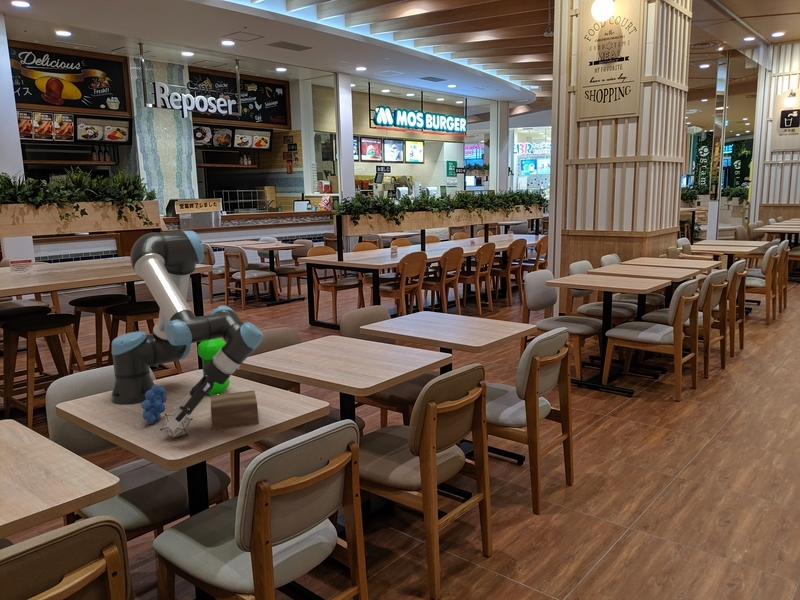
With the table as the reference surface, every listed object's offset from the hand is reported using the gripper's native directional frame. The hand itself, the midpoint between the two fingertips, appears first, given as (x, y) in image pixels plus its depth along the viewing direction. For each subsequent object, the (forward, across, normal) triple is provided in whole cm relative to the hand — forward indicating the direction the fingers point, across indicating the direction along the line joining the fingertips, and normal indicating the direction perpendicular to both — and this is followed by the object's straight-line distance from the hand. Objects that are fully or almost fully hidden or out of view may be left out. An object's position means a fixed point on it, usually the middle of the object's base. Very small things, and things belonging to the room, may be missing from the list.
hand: (173, 419), depth 183 cm
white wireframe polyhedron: (+4, 0, -5) cm, 6 cm away
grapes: (+11, +16, +2) cm, 20 cm away
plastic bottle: (-1, +41, -10) cm, 43 cm away
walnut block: (-8, +11, -16) cm, 21 cm away
